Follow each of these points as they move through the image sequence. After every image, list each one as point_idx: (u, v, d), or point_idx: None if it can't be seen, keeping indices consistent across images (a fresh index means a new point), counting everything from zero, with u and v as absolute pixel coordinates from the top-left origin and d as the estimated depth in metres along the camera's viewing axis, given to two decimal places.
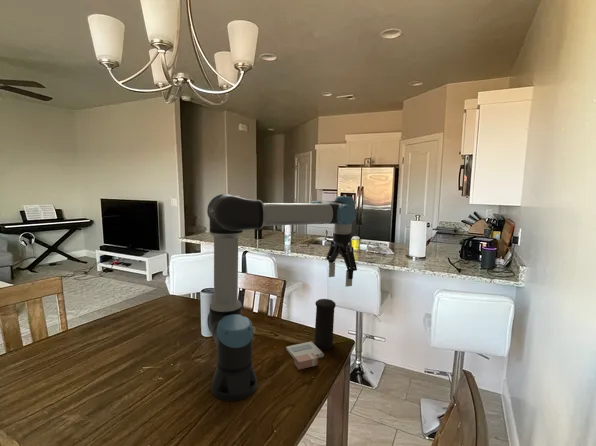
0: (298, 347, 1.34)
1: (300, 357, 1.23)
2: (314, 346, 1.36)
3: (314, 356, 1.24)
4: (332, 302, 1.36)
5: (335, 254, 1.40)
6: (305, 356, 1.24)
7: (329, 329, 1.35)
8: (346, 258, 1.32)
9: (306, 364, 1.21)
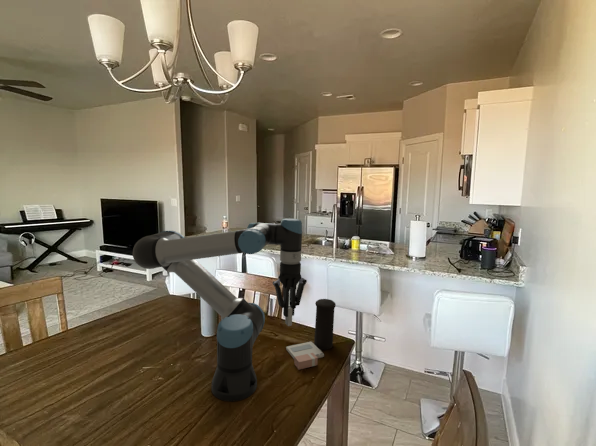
0: (298, 347, 1.34)
1: (300, 357, 1.23)
2: (314, 346, 1.36)
3: (314, 356, 1.24)
4: (332, 302, 1.36)
5: (290, 290, 1.17)
6: (305, 356, 1.24)
7: (329, 329, 1.35)
8: (284, 292, 1.16)
9: (306, 364, 1.21)
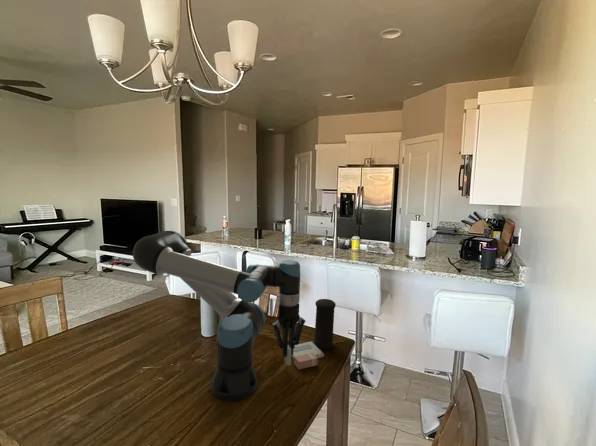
0: (298, 347, 1.34)
1: (300, 357, 1.23)
2: (314, 346, 1.36)
3: (314, 356, 1.24)
4: (332, 302, 1.36)
5: (289, 330, 1.19)
6: (305, 356, 1.24)
7: (329, 329, 1.35)
8: (283, 333, 1.18)
9: (306, 364, 1.21)
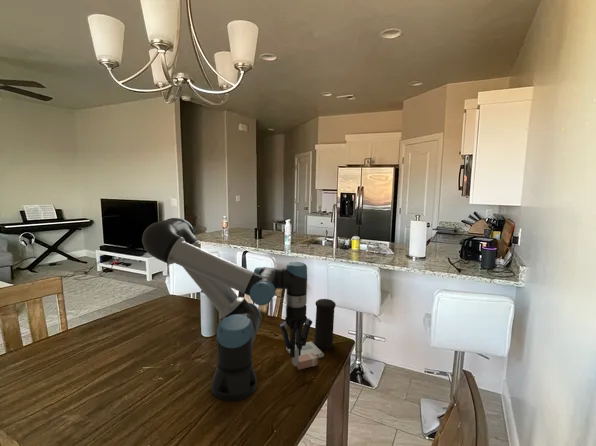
0: None
1: (300, 357, 1.23)
2: (314, 346, 1.36)
3: (314, 356, 1.24)
4: (332, 302, 1.36)
5: (296, 331, 1.20)
6: (305, 356, 1.24)
7: (329, 329, 1.35)
8: (290, 334, 1.19)
9: (306, 364, 1.21)
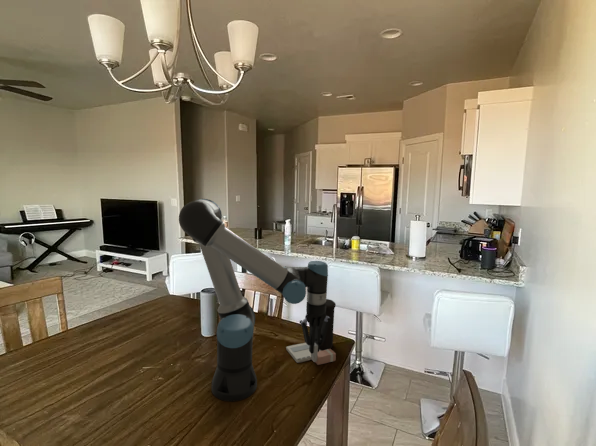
0: (298, 347, 1.34)
1: (318, 353, 1.27)
2: None
3: (332, 352, 1.27)
4: (332, 302, 1.36)
5: (316, 328, 1.24)
6: (323, 352, 1.27)
7: (329, 329, 1.35)
8: (310, 330, 1.23)
9: (325, 360, 1.25)
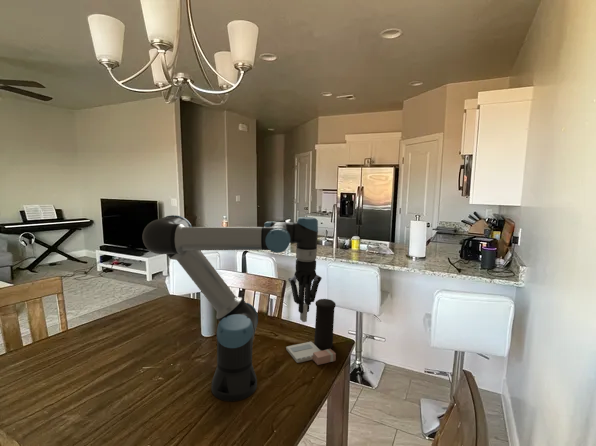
0: (298, 347, 1.34)
1: (318, 353, 1.27)
2: (314, 346, 1.36)
3: (332, 352, 1.27)
4: (332, 302, 1.36)
5: (305, 287, 1.20)
6: (323, 352, 1.27)
7: (329, 329, 1.35)
8: (299, 289, 1.19)
9: (325, 360, 1.25)
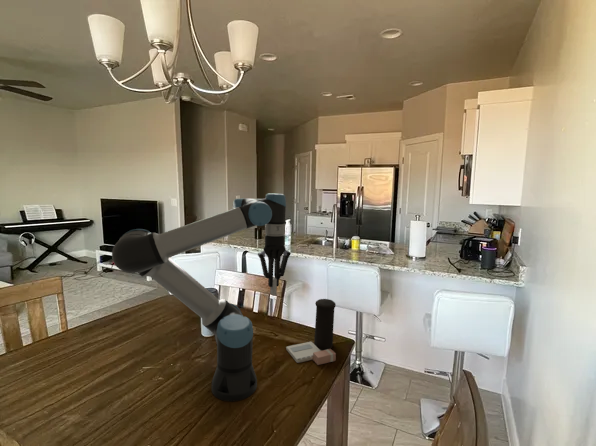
0: (298, 347, 1.34)
1: (318, 353, 1.27)
2: (314, 346, 1.36)
3: (332, 352, 1.27)
4: (332, 302, 1.36)
5: (275, 262, 1.23)
6: (323, 352, 1.27)
7: (329, 329, 1.35)
8: (268, 264, 1.22)
9: (325, 360, 1.25)
